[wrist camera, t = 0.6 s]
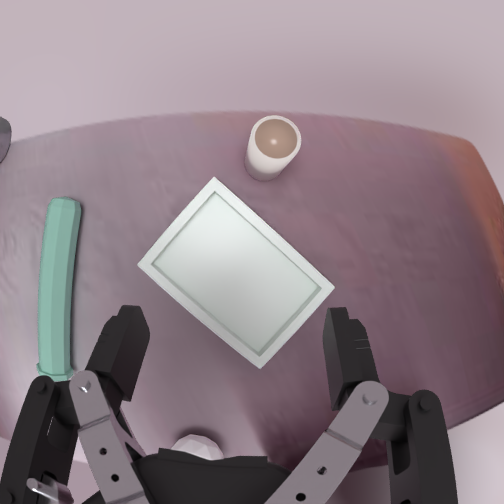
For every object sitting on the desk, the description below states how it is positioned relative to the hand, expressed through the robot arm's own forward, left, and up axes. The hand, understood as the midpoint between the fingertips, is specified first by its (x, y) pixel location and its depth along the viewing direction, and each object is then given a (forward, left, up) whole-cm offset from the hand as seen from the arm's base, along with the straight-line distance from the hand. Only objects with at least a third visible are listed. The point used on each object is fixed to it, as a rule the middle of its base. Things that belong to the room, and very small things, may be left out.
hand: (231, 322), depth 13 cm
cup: (-5, +13, -26) cm, 29 cm away
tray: (+2, 0, -26) cm, 26 cm away
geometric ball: (+15, -24, -26) cm, 38 cm away
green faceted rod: (-15, -18, -26) cm, 36 cm away
